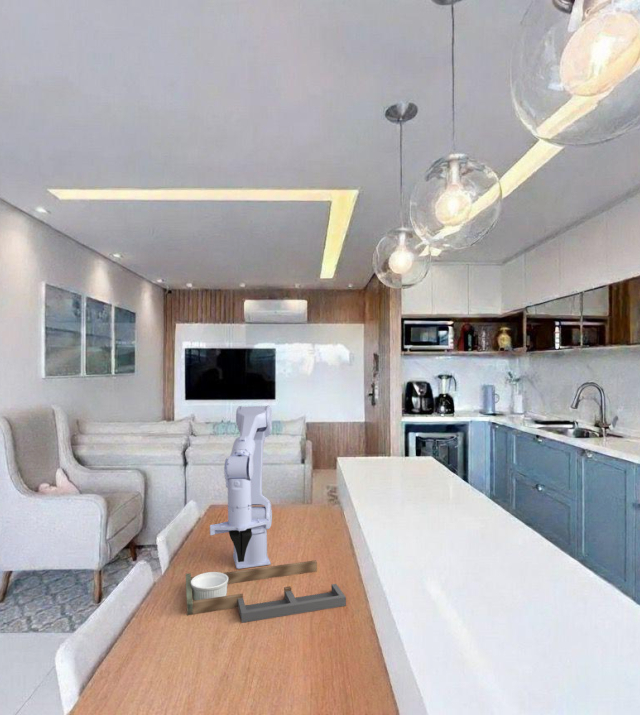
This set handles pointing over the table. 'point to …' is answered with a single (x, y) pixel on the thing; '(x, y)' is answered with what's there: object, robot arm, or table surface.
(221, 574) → the ramekin
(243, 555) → the robot arm
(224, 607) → the walnut channel
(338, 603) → the grey e-shaped block
